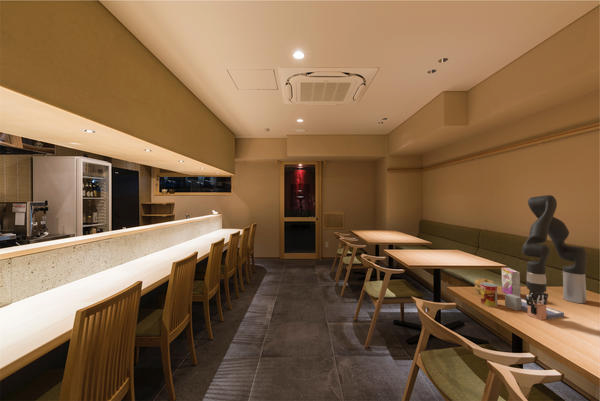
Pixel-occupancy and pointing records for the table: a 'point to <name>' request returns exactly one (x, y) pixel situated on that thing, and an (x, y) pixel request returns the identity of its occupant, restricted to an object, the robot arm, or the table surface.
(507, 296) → the stub grey
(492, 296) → the canned food
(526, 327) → the table surface
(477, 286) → the pot
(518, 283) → the candy bar box
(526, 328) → the table surface
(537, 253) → the robot arm
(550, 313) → the ticket slab
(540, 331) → the table surface
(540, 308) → the stub terracotta
